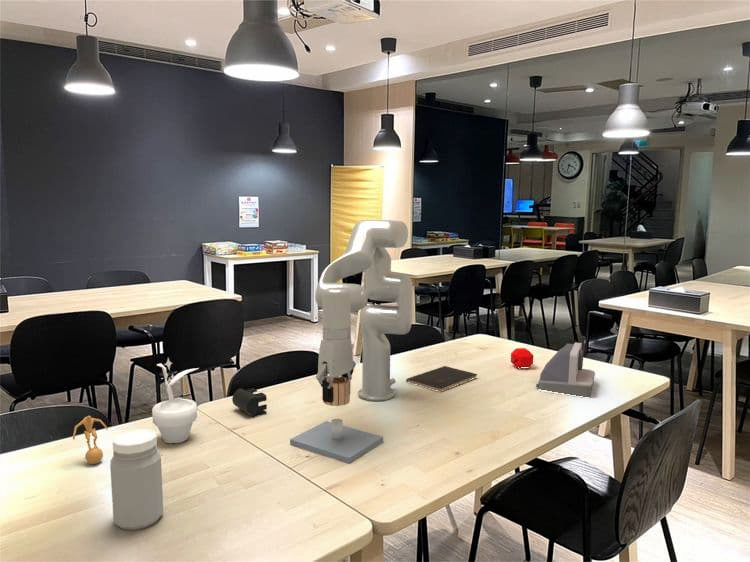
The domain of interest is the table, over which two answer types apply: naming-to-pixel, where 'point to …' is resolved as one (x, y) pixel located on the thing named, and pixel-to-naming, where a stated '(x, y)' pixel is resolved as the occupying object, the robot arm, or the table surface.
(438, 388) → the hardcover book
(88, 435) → the figurine
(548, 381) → the grey angular piece
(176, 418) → the potted plant
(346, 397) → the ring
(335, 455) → the post stand
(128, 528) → the jar
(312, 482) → the table surface
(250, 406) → the end cap
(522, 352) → the ball
